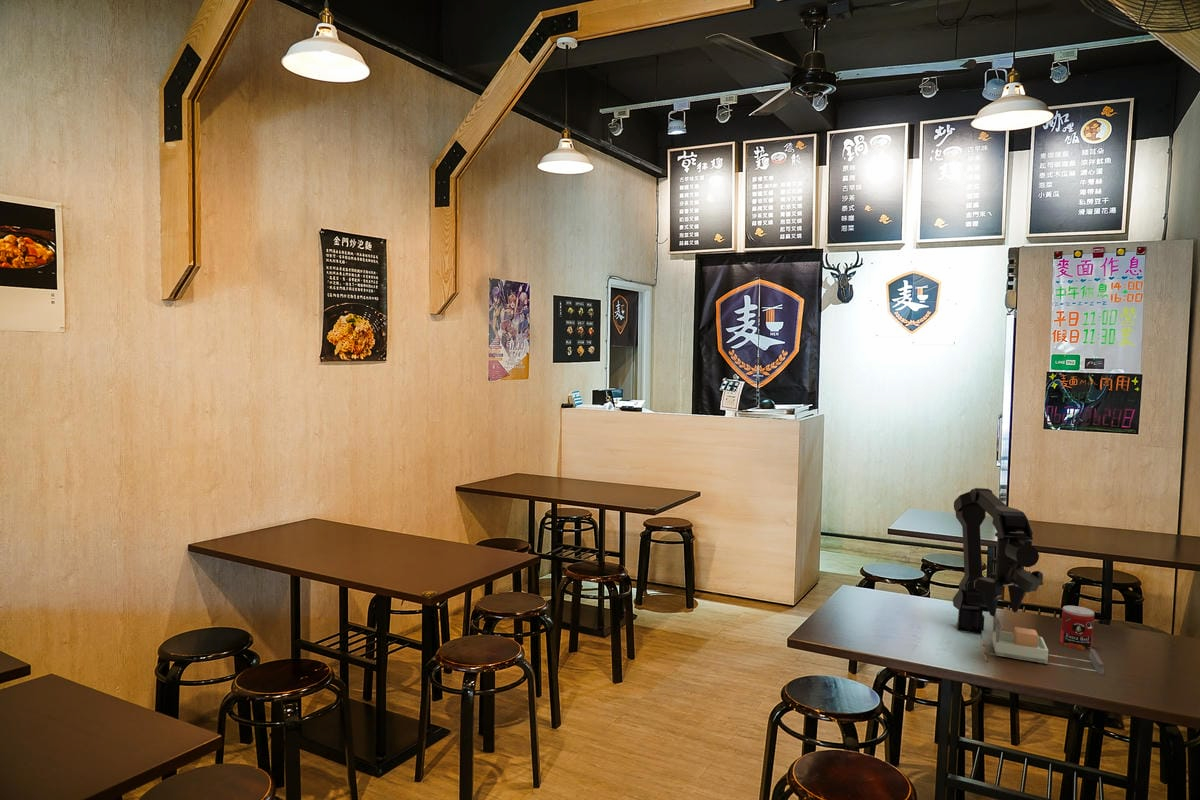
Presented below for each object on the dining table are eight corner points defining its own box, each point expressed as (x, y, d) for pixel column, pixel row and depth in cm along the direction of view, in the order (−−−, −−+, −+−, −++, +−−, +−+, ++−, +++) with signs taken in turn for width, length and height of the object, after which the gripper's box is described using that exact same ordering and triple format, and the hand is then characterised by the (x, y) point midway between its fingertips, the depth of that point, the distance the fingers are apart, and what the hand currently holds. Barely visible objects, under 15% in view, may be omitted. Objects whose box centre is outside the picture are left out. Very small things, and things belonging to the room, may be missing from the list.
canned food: (1060, 649, 216) (1063, 610, 216) (1059, 641, 223) (1061, 603, 223) (1093, 655, 213) (1096, 616, 212) (1090, 646, 220) (1093, 608, 219)
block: (1015, 651, 207) (1016, 632, 206) (1013, 644, 211) (1014, 626, 211) (1036, 654, 205) (1038, 635, 204) (1034, 648, 209) (1035, 629, 209)
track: (985, 662, 204) (986, 648, 204) (981, 642, 219) (982, 629, 219) (1105, 682, 194) (1106, 667, 194) (1092, 660, 209) (1093, 646, 209)
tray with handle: (994, 656, 206) (996, 624, 205) (990, 643, 216) (992, 612, 215) (1047, 665, 201) (1049, 632, 201) (1041, 651, 211) (1043, 619, 211)
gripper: (1013, 568, 197) (1009, 628, 198) (1058, 561, 206) (1054, 619, 207) (974, 557, 207) (970, 614, 208) (1019, 551, 216) (1015, 606, 217)
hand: (1003, 613), depth 210 cm, fingers open, 9 cm apart
